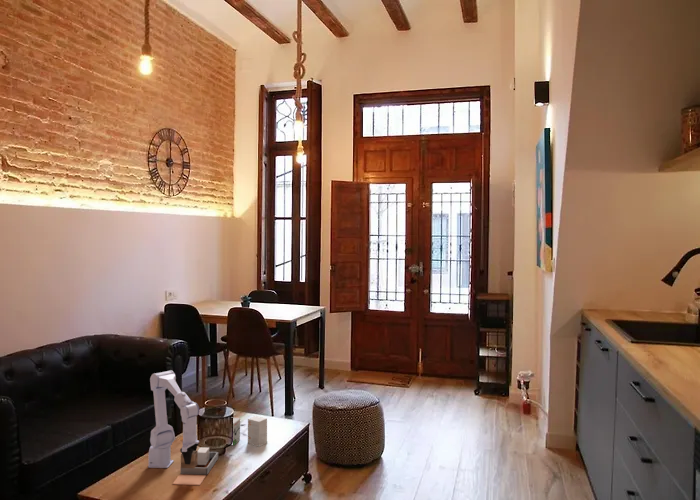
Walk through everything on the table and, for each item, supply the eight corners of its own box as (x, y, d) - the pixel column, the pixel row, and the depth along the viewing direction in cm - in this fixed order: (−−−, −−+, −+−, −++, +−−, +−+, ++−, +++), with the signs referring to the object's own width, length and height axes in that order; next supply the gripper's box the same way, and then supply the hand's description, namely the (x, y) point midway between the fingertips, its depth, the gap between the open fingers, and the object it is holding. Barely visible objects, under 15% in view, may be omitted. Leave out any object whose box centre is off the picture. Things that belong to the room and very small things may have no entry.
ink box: (233, 446, 280) (233, 423, 279) (224, 445, 281) (224, 422, 280) (240, 439, 288) (240, 417, 288) (231, 439, 289) (231, 416, 289)
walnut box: (194, 468, 238) (194, 454, 238) (180, 467, 239) (180, 454, 238) (197, 464, 243) (197, 450, 243) (184, 463, 243) (184, 449, 243)
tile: (172, 484, 237) (172, 483, 237) (179, 475, 246) (179, 474, 246) (199, 485, 236) (199, 484, 236) (206, 476, 245) (206, 475, 245)
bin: (180, 473, 247) (180, 467, 247) (193, 457, 265) (193, 451, 265) (207, 474, 247) (207, 468, 247) (218, 458, 265) (218, 452, 265)
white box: (196, 464, 257) (196, 452, 257) (200, 459, 263) (200, 447, 263) (205, 465, 257) (205, 452, 257) (209, 459, 263) (209, 447, 263)
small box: (267, 442, 285) (267, 418, 284) (259, 446, 279) (259, 421, 279) (255, 439, 289) (255, 415, 289) (247, 443, 284) (247, 418, 283)
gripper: (193, 437, 233) (193, 468, 233) (203, 425, 247) (203, 455, 248) (177, 437, 233) (176, 468, 234) (188, 425, 248) (188, 454, 248)
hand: (189, 461), depth 241 cm, fingers closed on walnut box, 4 cm apart
